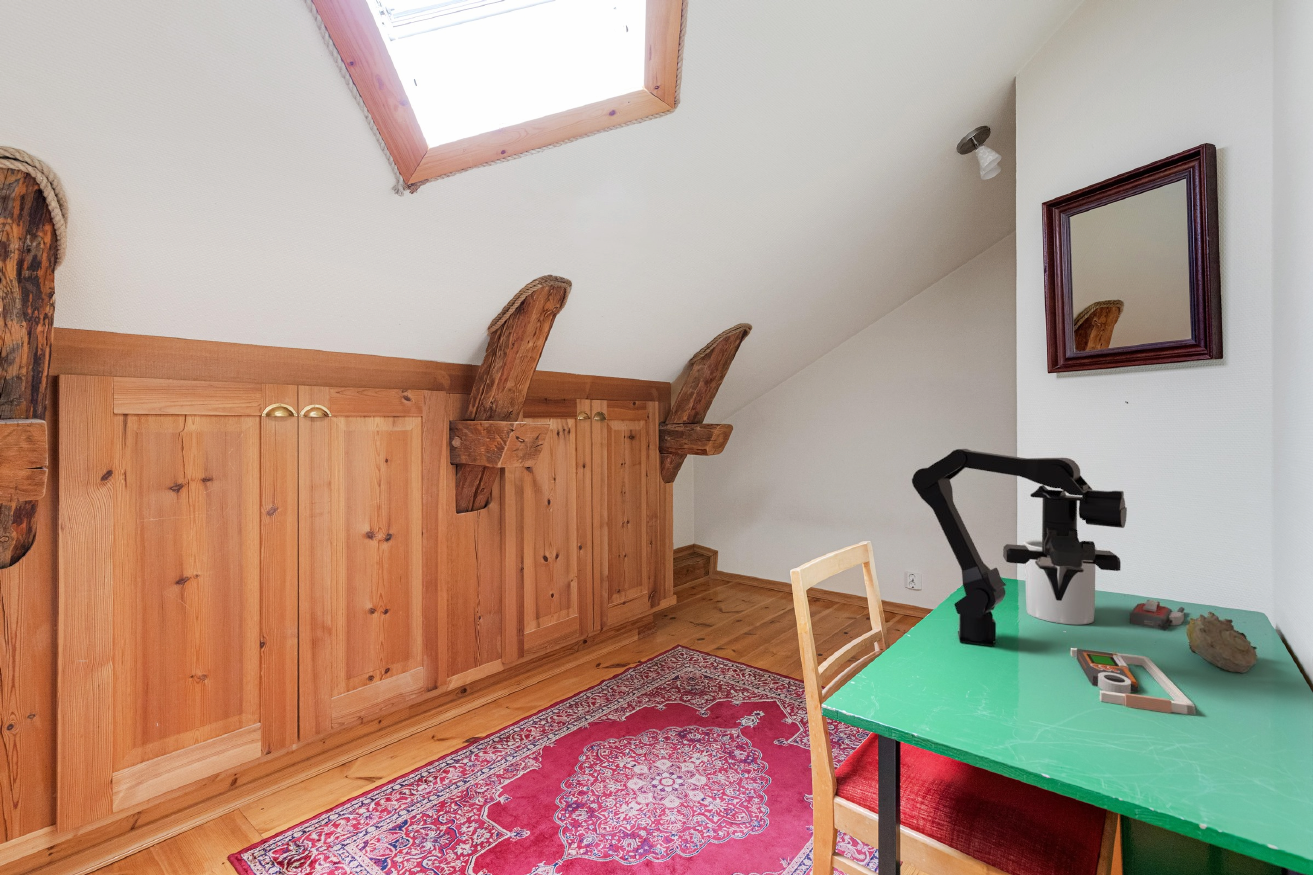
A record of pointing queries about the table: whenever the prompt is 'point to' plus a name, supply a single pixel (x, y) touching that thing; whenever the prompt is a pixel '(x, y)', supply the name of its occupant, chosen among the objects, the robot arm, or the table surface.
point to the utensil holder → (1075, 601)
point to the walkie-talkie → (1155, 615)
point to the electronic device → (1107, 671)
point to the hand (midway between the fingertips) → (1058, 600)
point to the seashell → (1220, 643)
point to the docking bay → (1146, 702)
